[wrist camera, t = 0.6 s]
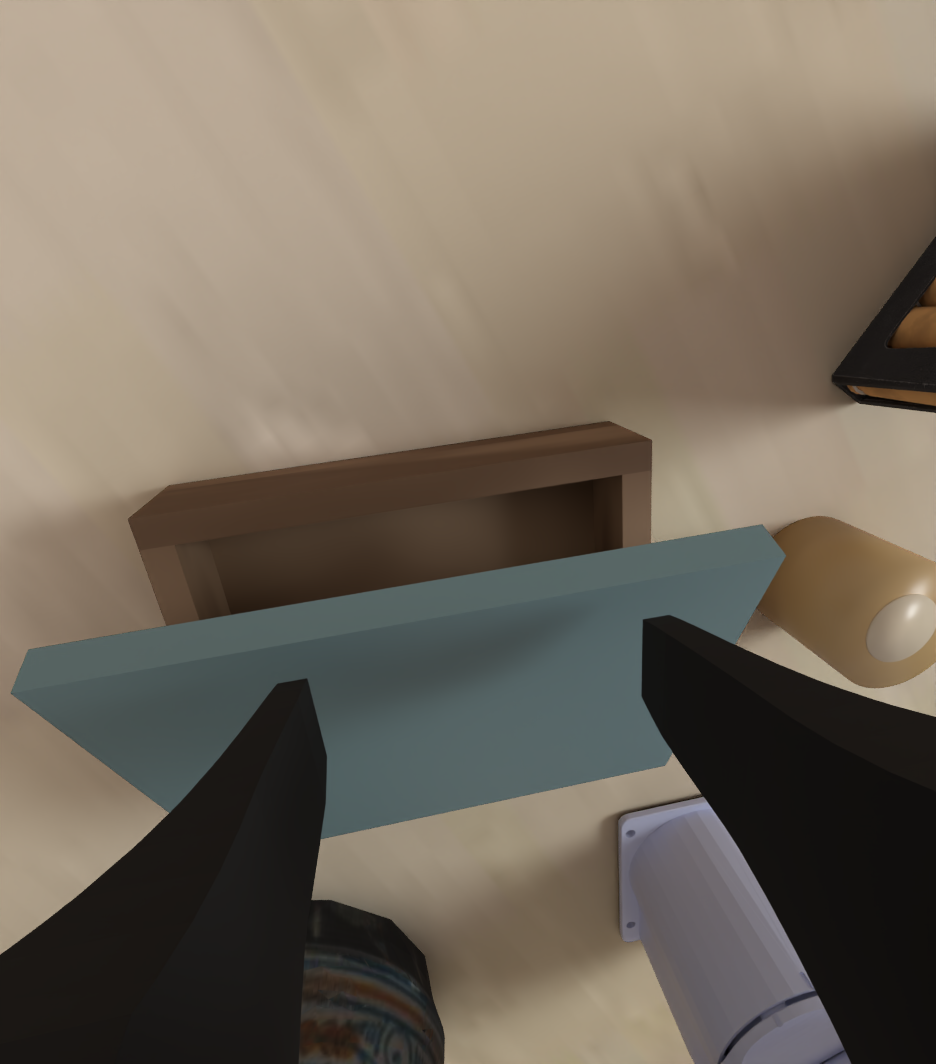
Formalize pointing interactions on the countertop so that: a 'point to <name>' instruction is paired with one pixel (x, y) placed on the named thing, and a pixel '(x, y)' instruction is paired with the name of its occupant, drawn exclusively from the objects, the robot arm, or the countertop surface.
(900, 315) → the ammunition clip
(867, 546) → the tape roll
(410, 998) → the beer stein
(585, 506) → the walnut box
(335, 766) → the lid
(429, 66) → the countertop surface
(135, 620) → the countertop surface
